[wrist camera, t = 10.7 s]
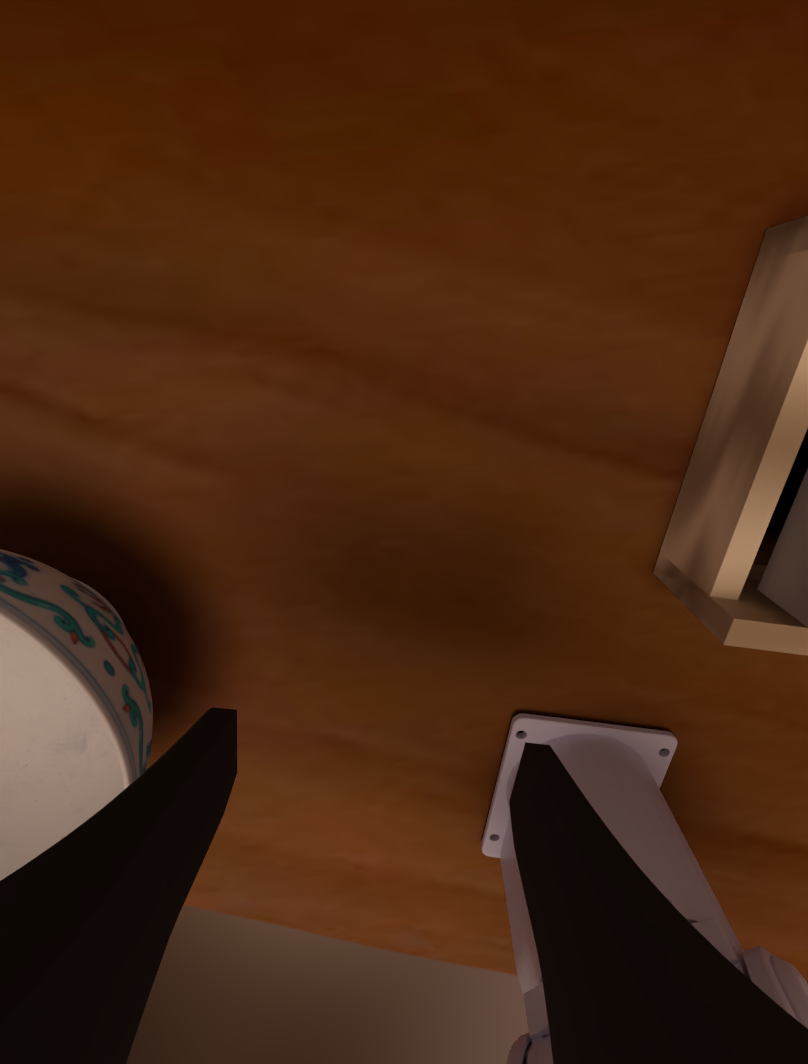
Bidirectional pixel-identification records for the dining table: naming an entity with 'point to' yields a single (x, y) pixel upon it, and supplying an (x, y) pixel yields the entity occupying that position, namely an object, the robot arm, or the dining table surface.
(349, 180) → the dining table surface
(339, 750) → the dining table surface
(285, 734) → the dining table surface
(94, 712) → the chinaware
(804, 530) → the trapdoor
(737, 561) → the frame
